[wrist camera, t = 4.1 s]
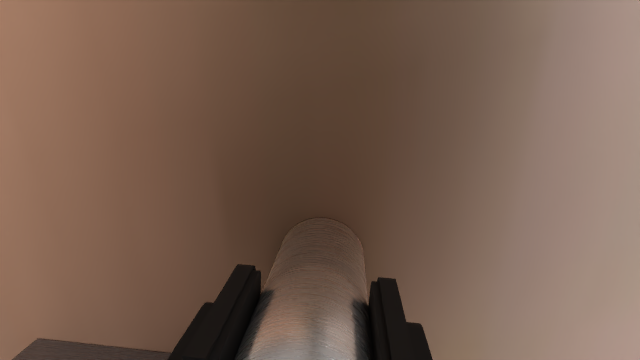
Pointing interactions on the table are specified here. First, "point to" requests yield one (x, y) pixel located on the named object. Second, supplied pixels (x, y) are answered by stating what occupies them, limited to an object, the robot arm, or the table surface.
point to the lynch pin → (313, 299)
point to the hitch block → (84, 352)
